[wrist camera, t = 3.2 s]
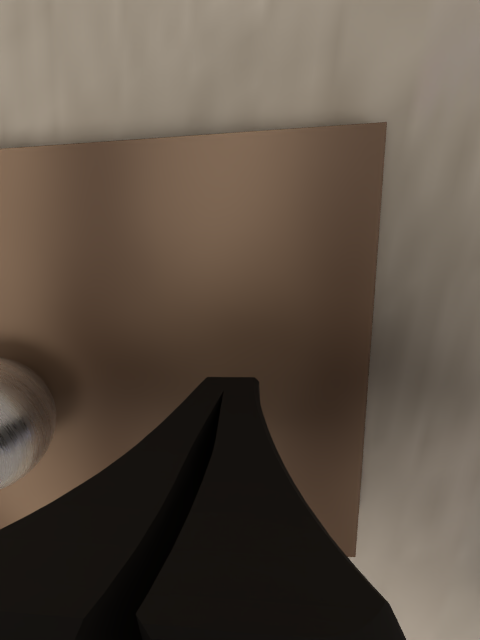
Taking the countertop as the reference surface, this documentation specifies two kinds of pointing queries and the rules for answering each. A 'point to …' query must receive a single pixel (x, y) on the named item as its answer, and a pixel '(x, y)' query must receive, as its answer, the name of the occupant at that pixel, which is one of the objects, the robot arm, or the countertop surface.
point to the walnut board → (196, 295)
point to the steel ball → (23, 420)
